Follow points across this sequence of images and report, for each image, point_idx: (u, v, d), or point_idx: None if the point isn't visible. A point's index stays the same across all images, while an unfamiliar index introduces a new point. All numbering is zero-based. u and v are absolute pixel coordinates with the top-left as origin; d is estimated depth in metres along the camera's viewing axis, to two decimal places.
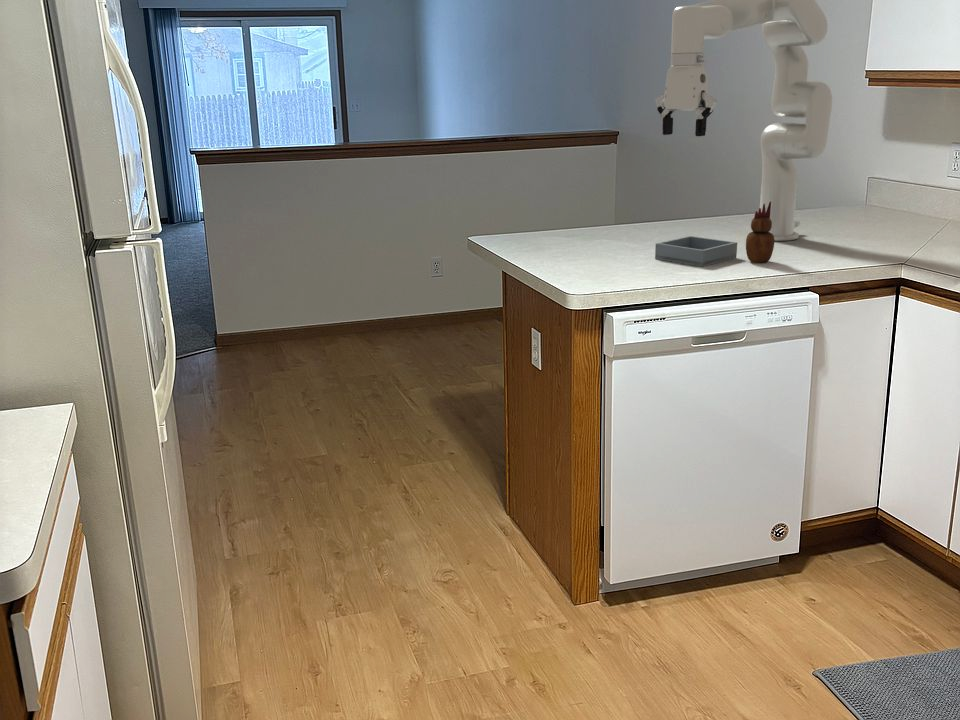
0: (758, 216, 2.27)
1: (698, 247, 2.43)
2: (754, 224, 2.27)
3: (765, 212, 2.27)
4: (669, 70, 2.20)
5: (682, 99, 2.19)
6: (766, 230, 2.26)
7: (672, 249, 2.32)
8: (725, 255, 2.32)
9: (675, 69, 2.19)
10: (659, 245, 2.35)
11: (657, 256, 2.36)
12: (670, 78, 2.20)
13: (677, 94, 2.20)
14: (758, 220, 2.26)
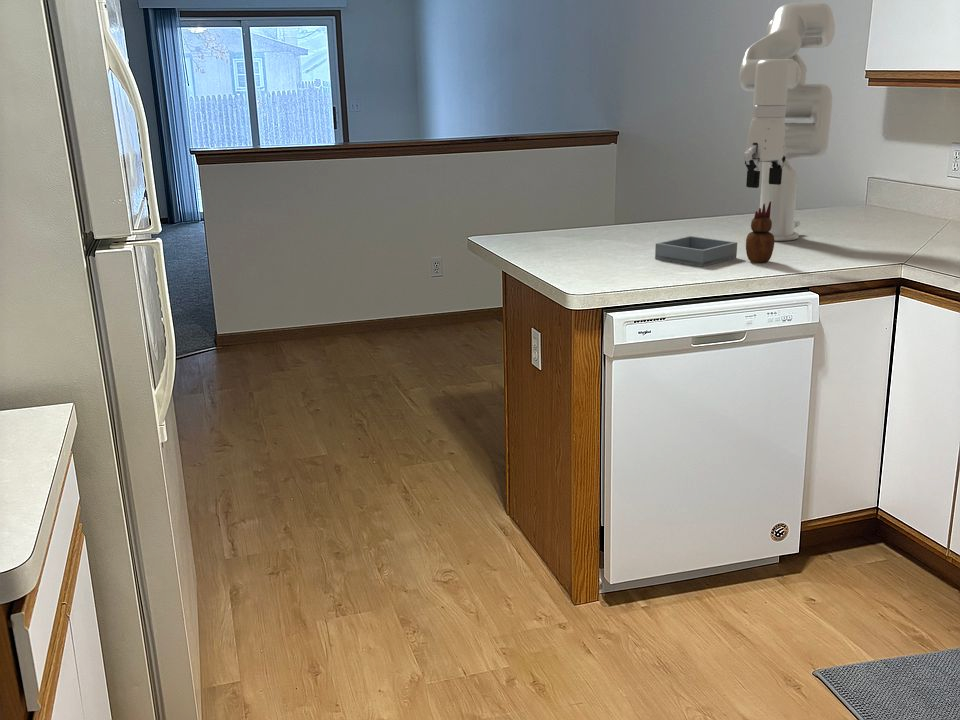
0: (758, 216, 2.27)
1: (698, 247, 2.43)
2: (754, 224, 2.27)
3: (765, 212, 2.27)
4: (768, 122, 2.17)
5: (777, 150, 2.21)
6: (766, 230, 2.26)
7: (672, 249, 2.32)
8: (725, 255, 2.32)
9: (774, 121, 2.17)
10: (659, 245, 2.35)
11: (657, 256, 2.36)
12: (769, 131, 2.17)
13: (774, 145, 2.20)
14: (758, 220, 2.26)
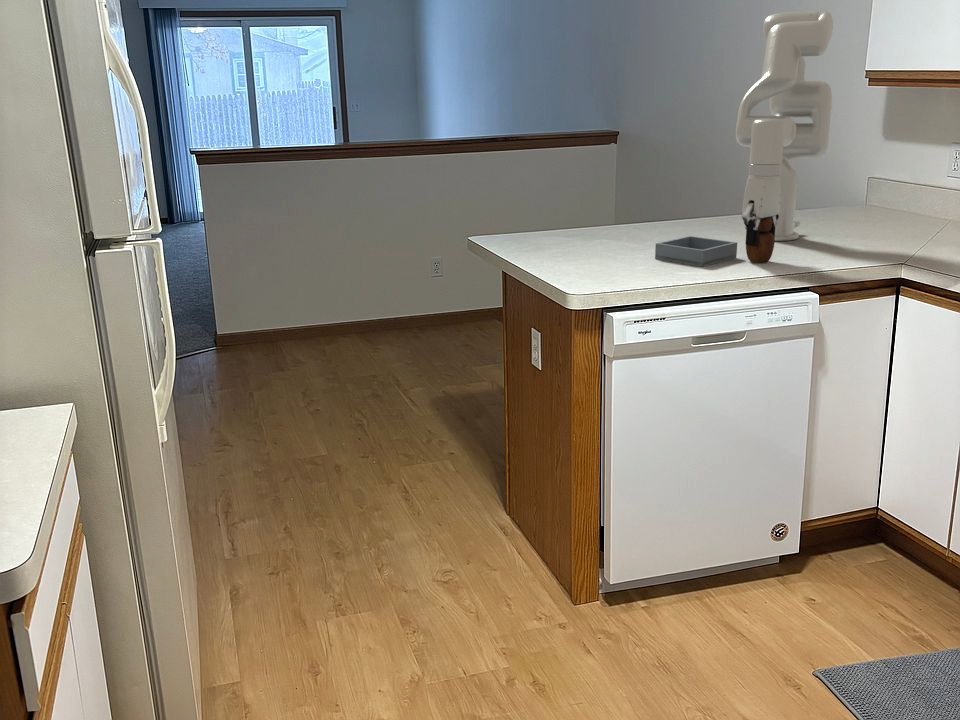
0: None
1: (698, 247, 2.43)
2: None
3: None
4: (764, 181, 2.21)
5: (773, 206, 2.25)
6: (766, 230, 2.26)
7: (672, 249, 2.32)
8: (725, 255, 2.32)
9: (770, 179, 2.22)
10: (659, 245, 2.35)
11: (657, 256, 2.36)
12: (765, 189, 2.22)
13: (770, 202, 2.24)
14: None
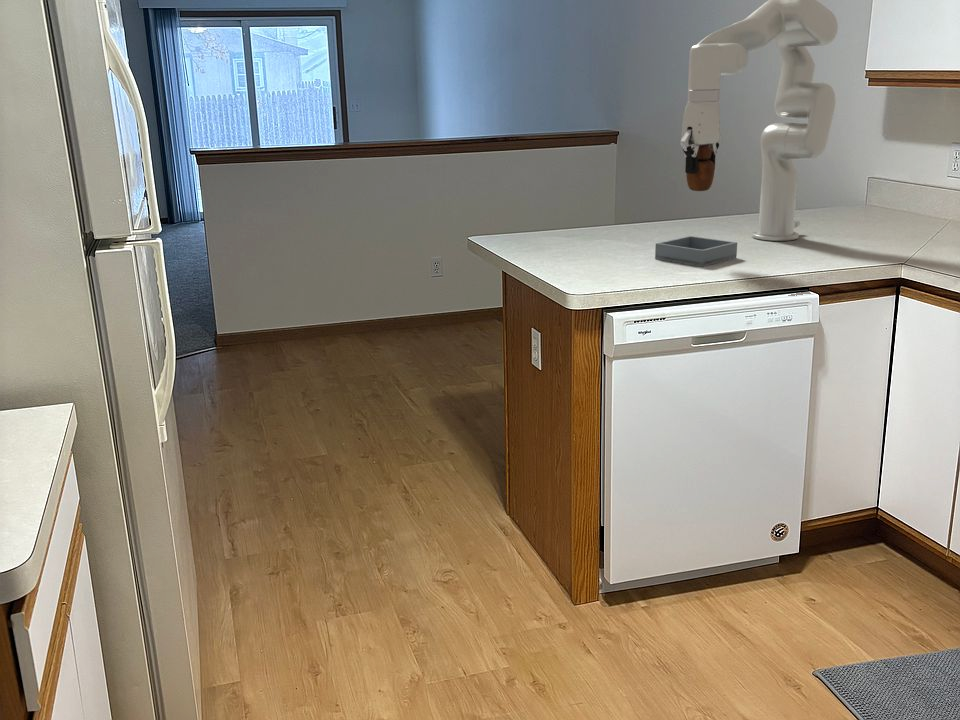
0: None
1: (698, 247, 2.43)
2: None
3: None
4: (702, 106, 2.21)
5: (712, 133, 2.26)
6: (705, 157, 2.27)
7: (672, 249, 2.32)
8: (725, 255, 2.32)
9: (708, 105, 2.22)
10: (659, 245, 2.35)
11: (657, 256, 2.36)
12: (703, 114, 2.22)
13: (709, 129, 2.25)
14: None
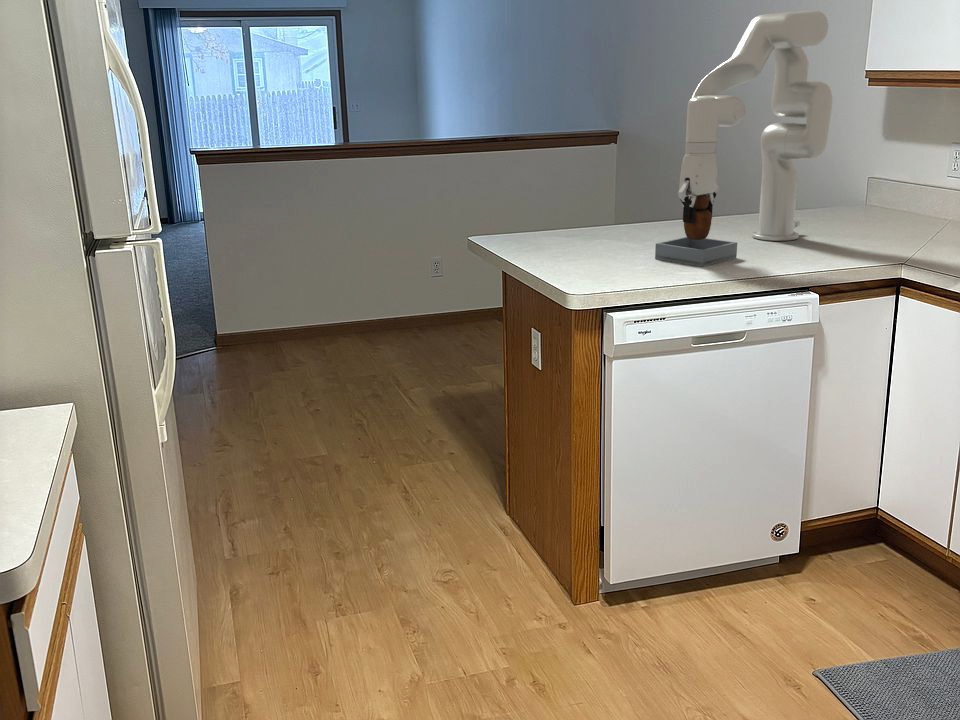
0: None
1: (698, 247, 2.43)
2: None
3: None
4: (699, 158, 2.25)
5: (709, 184, 2.30)
6: (703, 207, 2.30)
7: (672, 249, 2.32)
8: (725, 255, 2.32)
9: (705, 157, 2.26)
10: (659, 245, 2.35)
11: (657, 256, 2.36)
12: (701, 166, 2.26)
13: (706, 180, 2.28)
14: None
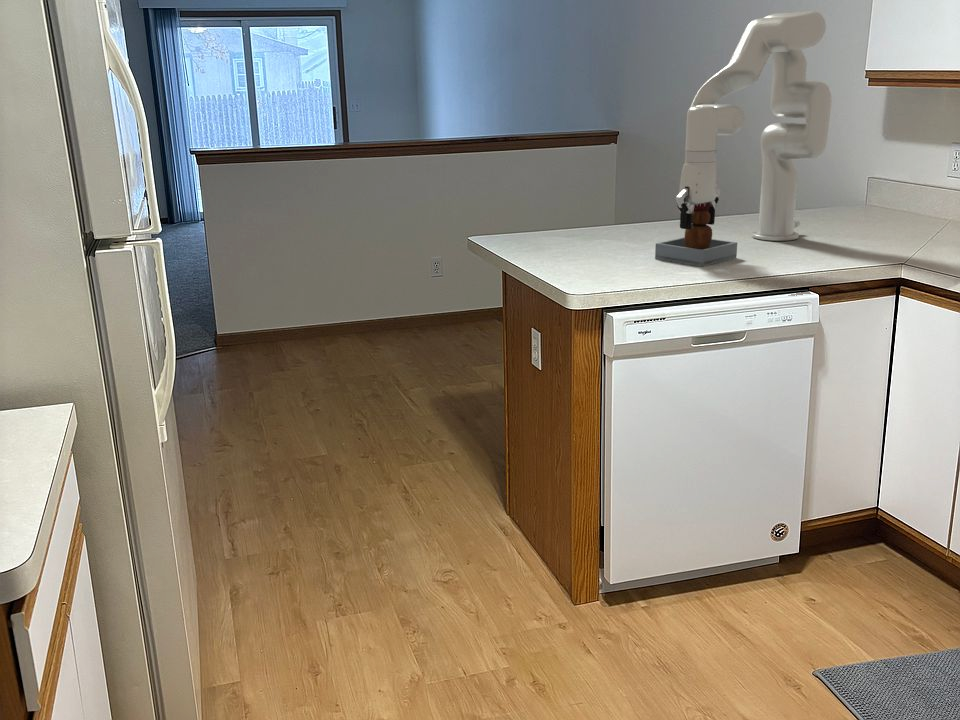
0: (697, 209, 2.32)
1: None
2: (693, 216, 2.32)
3: (704, 205, 2.32)
4: (699, 167, 2.26)
5: (708, 193, 2.30)
6: (704, 223, 2.32)
7: (672, 249, 2.32)
8: (725, 255, 2.32)
9: (705, 166, 2.27)
10: (659, 245, 2.35)
11: (657, 256, 2.36)
12: (700, 175, 2.26)
13: (705, 189, 2.29)
14: (697, 212, 2.32)
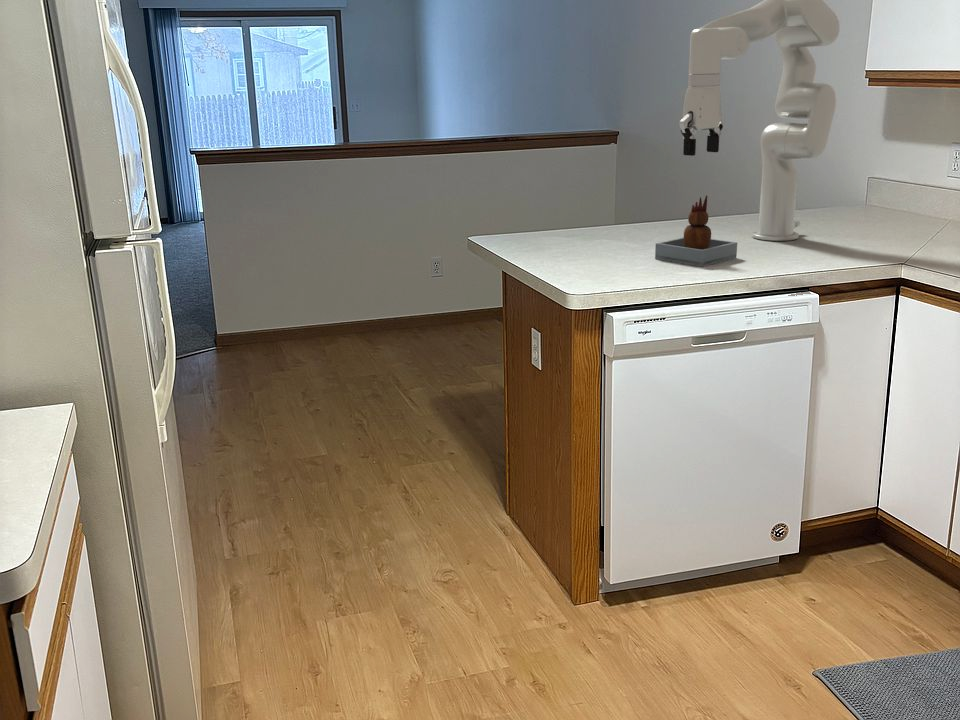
0: (695, 210, 2.32)
1: None
2: (691, 217, 2.32)
3: (701, 206, 2.32)
4: (702, 90, 2.21)
5: (712, 118, 2.25)
6: (702, 223, 2.32)
7: (672, 249, 2.32)
8: (725, 255, 2.32)
9: (709, 89, 2.22)
10: (659, 245, 2.35)
11: (657, 256, 2.36)
12: (704, 99, 2.21)
13: (709, 114, 2.24)
14: (694, 213, 2.32)
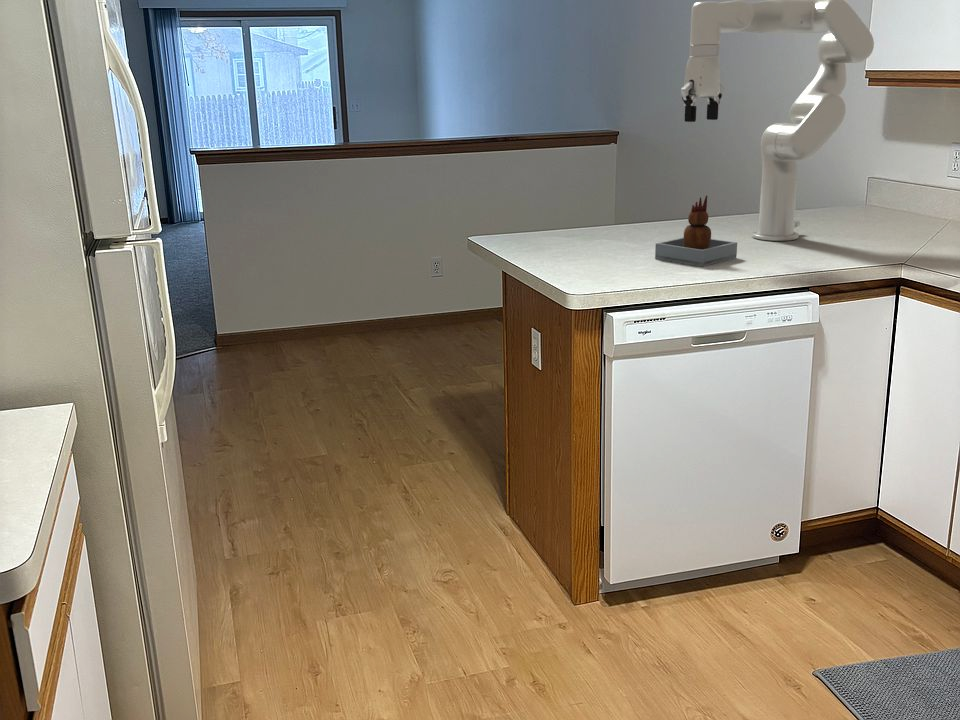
0: (695, 210, 2.32)
1: None
2: (691, 217, 2.32)
3: (701, 206, 2.32)
4: (703, 60, 2.35)
5: (712, 87, 2.40)
6: (702, 223, 2.32)
7: (672, 249, 2.32)
8: (725, 255, 2.32)
9: (709, 59, 2.36)
10: (659, 245, 2.35)
11: (657, 256, 2.36)
12: (704, 68, 2.36)
13: (709, 82, 2.39)
14: (694, 213, 2.32)
